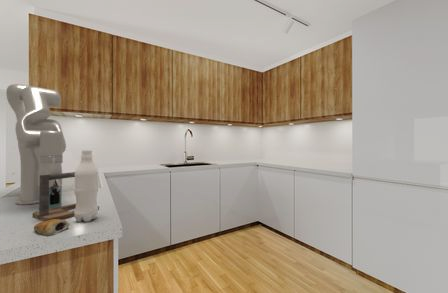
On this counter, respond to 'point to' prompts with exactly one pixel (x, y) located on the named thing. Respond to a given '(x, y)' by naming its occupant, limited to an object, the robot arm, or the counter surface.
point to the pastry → (51, 227)
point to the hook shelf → (57, 213)
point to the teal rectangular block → (54, 204)
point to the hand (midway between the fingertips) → (50, 202)
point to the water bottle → (86, 188)
